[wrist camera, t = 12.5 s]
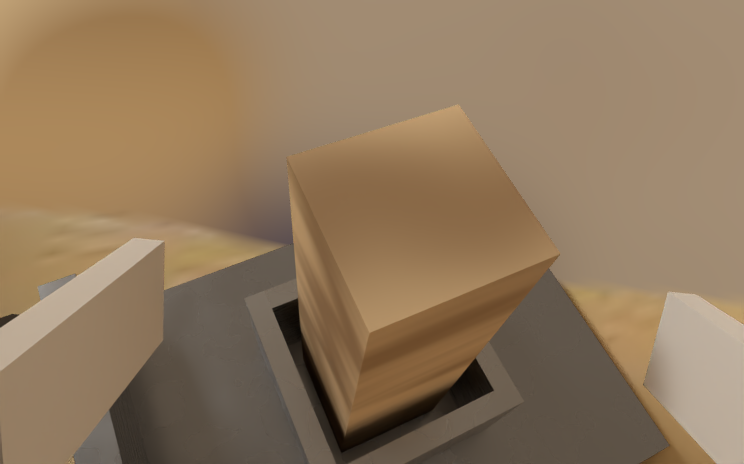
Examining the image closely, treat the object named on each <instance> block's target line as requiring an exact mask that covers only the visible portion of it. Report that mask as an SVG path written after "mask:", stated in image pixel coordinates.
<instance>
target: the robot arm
mask: <svg viewBox="0 0 744 464" xmlns="http://www.w3.org/2000/svg"><path fill="white" fill-rule="evenodd" d="M163 309H164V241H161V240H151V239H142V238H133V239H131V240H130V241H128V242H127V243H125V244H124V245H122V246H121V247H119V248H118V249H116V250H115V251H113V252H112V253H110V254H109V255H108V256H106V257H105V258H103V259H102V260H100V261H99V262H97V263H96V264H94V265H93V266H91V267H90V268H88V269H87V270H85V271H84V272H82V273H81V274H79V275H78V276H76V277H75V278H73V279H72V280H71V281H69V282H68V283H66V284H65V285H63V286H62V287H60V288H59V289H57V290H56V291H54V292H53V293H51V294H50V295H48V296H47V297H45V298H44V299H42V300H41V301H39V302H38V303H36V304H35V305H34V306H32V307H31V308H29V309H28V310H26V311H25V312H23V313H22V314H20V315H17V314H11V315H8V316H5V317H3V318H0V464H67V463H68V461H69V460H70V459H71V458H72V456H73V455H74V454H75V452H76V451H77V450H78V449H79V447H80V446H81V445H82V444H83V442H84V441H85V440H86V438H87V437H88V436H89V435H90V433H91V432H92V431H93V429H94V428H95V427H96V426H97V424H98V423H99V422H100V420H101V419H102V418H103V417H104V415H105V414H106V413H107V411H108V410H109V409H110V408H111V406H112V405H113V404H114V402H115V401H116V400H117V399H118V397H119V396H120V395H121V393H122V392H123V391H124V390H125V388H126V387H127V386H128V384H129V383H130V382H131V381H132V379H133V378H134V377H135V375H136V374H137V373H138V372H139V370H140V369H141V368H142V366H143V365H144V364H145V363H146V361H147V360H148V359H149V357H150V356H151V355H152V354H153V352H154V351H155V350H156V348H157V347H158V346H159V345H160V343H161V342H162V341H163ZM643 385H644V386H645V387H646V388H647V389H648V390H649V392H650V393H651V394H652V395H653V396H654V397H655V398H656V399H657V400H658V401H659V402H660V403H661V404H662V406H663V407H664V408H665V409H666V410H667V411H668V412H669V413H670V414H671V415H672V416H673V417H674V418H675V420H676V421H677V422H678V423H679V424H680V425H681V426H682V427H683V428H684V429H685V430H686V431H687V432H688V434H689V435H690V436H691V437H692V438H693V439H694V440H695V441H696V442H697V443H698V444H699V445H700V446H701V448H702V449H703V450H704V451H705V452H706V453H707V454H708V455H709V456H710V457H711V458H712V459H713V460H714V462H715V463H716V464H744V325H743V324H742V323H740V322H739V321H737V320H735V319H734V318H732V317H731V316H729V315H728V314H726V313H724V312H723V311H721V310H720V309H718V308H717V307H715V306H713V305H712V304H710V303H709V302H707V301H706V300H704V299H702V298H701V297H699V296H698V295H696V294H686V293H676V292H668V294H667V298H666V301H665V305H664V309H663V313H662V316H661V320H660V324H659V328H658V331H657V335H656V339H655V343H654V346H653V350H652V354H651V358H650V361H649V365H648V369H647V373H646V376H645V380H644V384H643Z"/></svg>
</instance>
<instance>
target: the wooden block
mask: <svg viewBox="0 0 744 464" xmlns="http://www.w3.org/2000/svg"><path fill="white" fill-rule="evenodd" d="M287 168H288V180H289V192H290V205H291V217H292V229H293V241H294V254H295V266H296V278H297V290H298V303H299V315H300V327H301V339H302V351H303V360H304V362H305V365H306V367H307V370H308V372H309V375H310V377H311V380H312V382H313V385H314V387H315V390H316V392H317V395H318V397H319V400H320V402H321V404H322V407H323V409H324V412H325V414H326V417H327V419H328V422H329V424H330V427H331V429H332V432H333V434H334V437H335V439H336V442H337V444H338V447H339V449H340V451H341V453H343V452H345V451H347V450H349V449H351V448H353V447H355V446H358V445H360V444H362V443H364V442H366V441H368V440H370V439H372V438H375V437H377V436H379V435H381V434H383V433H385V432H387V431H389V430H391V429H394V428H396V427H398V426H400V425H402V424H404V423H406V422H408V421H410V420H413V419H415V418H417V417H419V416H421V415H423V414H425V413H427V412H430V411H432V410H433V409H434V408H435V407H436V405H437V404H438V403H439V402H440V400H441V399H442V398H443V397H444V396H445V394H446V393H447V392H448V391H449V389H450V388H451V387H452V386H453V385H454V383H455V382H456V381H457V380H458V378H459V377H460V376H461V375H462V374H463V372H464V371H465V370H466V369H467V367H468V366H469V365H470V364H471V363H472V361H473V360H474V359H475V358H476V356H477V355H478V354H479V353H480V352H481V350H482V349H483V348H484V347H485V345H486V344H487V343H488V342H489V341H490V339H491V338H492V337H493V336H494V334H495V333H496V332H497V331H498V330H499V328H500V327H501V326H502V325H503V323H504V322H505V321H506V320H507V319H508V317H509V316H510V315H511V314H512V312H513V311H514V310H515V309H516V308H517V306H518V305H519V304H520V303H521V301H522V300H523V299H524V298H525V297H526V295H527V294H528V293H529V292H530V291H531V289H532V288H533V287H534V286H535V284H536V283H537V282H538V281H539V280H540V278H541V277H542V276H543V275H544V273H545V272H546V271H547V270H548V269H549V267H550V266H551V265H552V264H553V262H554V261H555V260H556V259H557V257H558V256H559V255H560V252H559V251H558V249H557V248H556V246H555V245H554V243H553V242H552V240H551V239H550V238H549V236H548V235H547V233H546V232H545V230H544V229H543V227H542V226H541V224H540V223H539V221H538V220H537V219H536V217H535V216H534V214H533V213H532V211H531V210H530V208H529V207H528V205H527V204H526V202H525V201H524V199H523V198H522V197H521V195H520V194H519V192H518V191H517V189H516V188H515V186H514V185H513V183H512V182H511V180H510V179H509V177H508V176H507V174H506V173H505V172H504V170H503V169H502V167H501V166H500V164H499V163H498V161H497V160H496V159H495V157H494V156H493V154H492V153H491V151H490V150H489V148H488V147H487V145H486V144H485V142H484V141H483V139H482V138H481V136H480V135H479V133H478V132H477V131H476V129H475V128H474V126H473V125H472V123H471V122H470V120H469V119H468V117H467V116H466V114H465V113H464V112H463V110H462V109H461V107H460V106H459V105H456V106H452V107H449V108H446V109H442V110H439V111H436V112H432V113H429V114H426V115H422V116H419V117H416V118H413V119H410V120H406V121H403V122H399V123H396V124H393V125H389V126H386V127H383V128H380V129H377V130H373V131H370V132H367V133H363V134H360V135H357V136H354V137H350V138H347V139H343V140H340V141H337V142H334V143H331V144H327V145H324V146H321V147H317V148H314V149H311V150H307V151H304V152H301V153H298V154H294V155H291V156H288V157H287Z"/></svg>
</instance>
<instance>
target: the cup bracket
mask: <svg viewBox="0 0 744 464" xmlns="http://www.w3.org/2000/svg"><path fill="white" fill-rule="evenodd" d="M76 276H77V275H76V274H73V275H70V276H67V277H64V278H61V279H58V280H55V281H52V282H49V283H47V284H44V285H41V286H38V291H39V295H40V300H42V299H44V298H45V297H47V296H48V295H50V294H51V293H53V292H54V291H56V290H57V289H59V288H60V287H62V286H63V285H65V284H66V283H68V282H69V281H71V280H72V279H73V278H75V277H76ZM668 446H670V445H669V444H668V442H667V441H666V439H665V438H664V437H663V435H662V434H661V432H660V431H659V429H658V428H657V426H656V425H655V423H654V422H653V420H652V419H651V417H650V416H649V414H648V413H647V412H646V410H645V409H644V407H643V406H642V404H641V403H640V401H639V400H638V398H637V397H636V395H635V394H634V392H633V391H632V390H631V388H630V387H629V385H628V384H627V382H626V381H625V379H624V378H623V376H622V375H621V373H620V372H619V370H618V369H617V368H616V366H615V365H614V363H613V362H612V360H611V359H610V357H609V356H608V354H607V353H606V351H605V350H604V348H603V347H602V346H601V344H600V343H599V341H598V340H597V338H596V337H595V335H594V334H593V332H592V331H591V329H590V328H589V326H588V325H587V323H586V322H585V321H584V319H583V318H582V316H581V315H580V313H579V312H578V310H577V309H576V307H575V306H574V304H573V303H572V301H571V300H570V299H569V297H568V296H567V294H566V293H565V291H564V290H563V288H562V287H561V285H560V284H559V282H558V281H557V279H556V278H555V277H554V275H553V274H552V272H551V271H550V269H548V270H547V271H546V272H545V273H544V275H543V276H542V277H541V278H540V280H539V281H538V282H537V283H536V284H535V286H534V287H533V288H532V289H531V291H530V292H529V293H528V294H527V295H526V297H525V298H524V299H523V300H522V301H521V303H520V304H519V305H518V306H517V308H516V309H515V310H514V311H513V312H512V314H511V315H510V316H509V317H508V319H507V320H506V321H505V322H504V323H503V325H502V326H501V327H500V328H499V330H498V331H497V332H496V333H495V334H494V336H493V337H492V338H491V339H490V341H489V342H488V343H487V344H486V345H485V347H484V348H483V349H482V350H481V352H480V353H479V354H478V355H477V356H476V358H475V359H474V360H473V361H472V363H471V364H470V365H469V366H468V367H467V369H466V370H465V371H464V372H463V374H462V375H461V376H460V377H459V378H458V380H457V381H456V382H455V383H454V385H453V386H452V387H451V388H450V389H449V391H448V392H447V393H446V394H445V396H444V397H443V398H442V399H441V400H440V402H439V403H438V404H437V405H436V407H435V408H434V409H433V410H432V411H430V412H427V413H425V414H423V415H421V416H419V417H417V418H415V419H413V420H410V421H408V422H406V423H404V424H402V425H400V426H398V427H396V428H394V429H391V430H389V431H387V432H385V433H383V434H381V435H379V436H377V437H375V438H372V439H370V440H368V441H366V442H364V443H362V444H360V445H358V446H355V447H353V448H351V449H349V450H347V451H345V452H343V453H341V451H340V449H339V447H338V444H337V442H336V439H335V437H334V434H333V432H332V429H331V427H330V424H329V422H328V419H327V417H326V414H325V412H324V409H323V407H322V404H321V402H320V400H319V397H318V395H317V392H316V390H315V387H314V385H313V382H312V380H311V377H310V375H309V372H308V370H307V367H306V365H305V362H304V360H303V351H302V339H301V327H300V315H299V303H298V290H297V278H296V266H295V254H294V243H293V244H290V245H287V246H285V247H282V248H279V249H276V250H274V251H271V252H268V253H266V254H263V255H260V256H257V257H255V258H252V259H249V260H246V261H244V262H241V263H238V264H235V265H233V266H230V267H227V268H225V269H222V270H219V271H216V272H214V273H211V274H208V275H205V276H203V277H200V278H197V279H194V280H192V281H189V282H186V283H184V284H181V285H178V286H175V287H173V288H170V289H167V290H164V309H163V341H162V342H161V343H160V345H159V346H158V347H157V348H156V350H155V351H154V352H153V354H152V355H151V356H150V357H149V359H148V360H147V361H146V363H145V364H144V365H143V366H142V368H141V369H140V370H139V372H138V373H137V374H136V375H135V377H134V378H133V379H132V381H131V382H130V383H129V384H128V386H127V387H126V388H125V390H124V391H123V392H122V393H121V395H120V396H119V397H118V399H117V400H116V401H115V402H114V404H113V405H112V406H111V408H110V409H109V410H108V411H107V413H106V414H105V415H104V417H103V418H102V419H101V420H100V422H99V423H98V424H97V426H96V427H95V428H94V429H93V431H92V432H91V433H90V435H89V436H88V437H87V438H86V440H85V441H84V442H83V444H82V445H81V446H80V447H79V449H78V450H77V451H76V452H75V454H74V455H73V456H74V460H75V464H640V463H641V462H643V461H645V460H646V459H648V458H650V457H651V456H653V455H655V454H656V453H658V452H660V451H661V450H663V449H665V448H666V447H668Z"/></svg>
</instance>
